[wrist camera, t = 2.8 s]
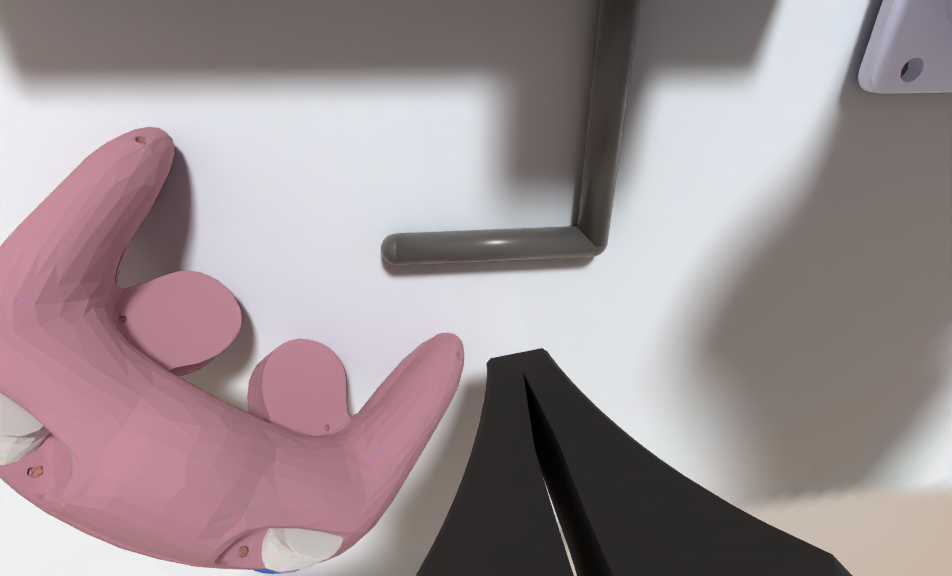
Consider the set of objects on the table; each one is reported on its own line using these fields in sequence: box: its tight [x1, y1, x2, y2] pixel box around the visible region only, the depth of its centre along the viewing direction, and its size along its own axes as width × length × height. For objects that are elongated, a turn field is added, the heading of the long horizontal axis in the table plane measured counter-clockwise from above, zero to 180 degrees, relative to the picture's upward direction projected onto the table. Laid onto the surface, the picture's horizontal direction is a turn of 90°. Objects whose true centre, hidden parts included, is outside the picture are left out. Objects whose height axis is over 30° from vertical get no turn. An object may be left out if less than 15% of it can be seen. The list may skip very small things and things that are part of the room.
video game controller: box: [0, 127, 464, 574], centre depth 11 cm, size 10×5×7 cm, turn 47°
